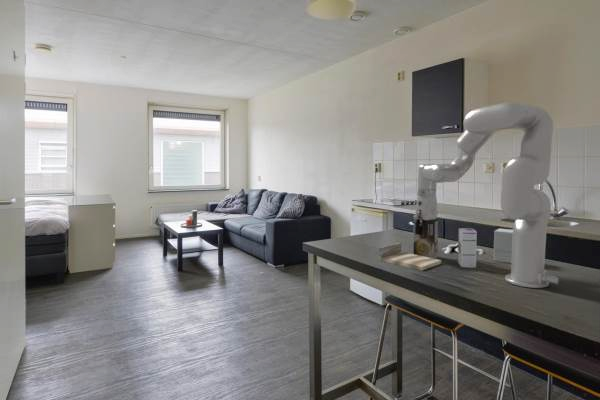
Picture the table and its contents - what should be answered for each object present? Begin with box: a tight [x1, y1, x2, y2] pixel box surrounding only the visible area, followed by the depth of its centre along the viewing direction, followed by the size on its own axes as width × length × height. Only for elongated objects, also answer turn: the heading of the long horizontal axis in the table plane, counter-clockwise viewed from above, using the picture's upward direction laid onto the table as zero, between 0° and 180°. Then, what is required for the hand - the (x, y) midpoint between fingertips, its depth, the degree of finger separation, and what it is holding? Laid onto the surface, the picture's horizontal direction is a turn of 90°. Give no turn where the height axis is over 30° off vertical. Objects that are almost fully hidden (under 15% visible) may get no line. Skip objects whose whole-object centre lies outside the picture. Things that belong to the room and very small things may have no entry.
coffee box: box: [412, 219, 439, 259], centre depth 159 cm, size 9×6×16 cm
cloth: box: [441, 242, 484, 255], centre depth 169 cm, size 22×19×6 cm
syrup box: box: [457, 227, 478, 269], centre depth 146 cm, size 6×6×14 cm
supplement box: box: [493, 228, 513, 264], centre depth 153 cm, size 7×7×13 cm
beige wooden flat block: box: [378, 242, 442, 271], centre depth 152 cm, size 21×14×6 cm
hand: (425, 232), depth 159 cm, fingers open, 9 cm apart
